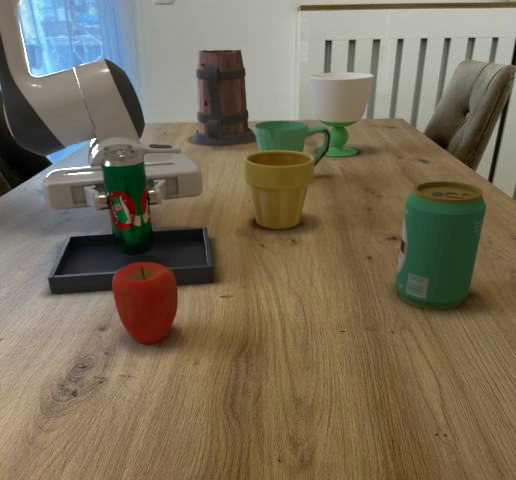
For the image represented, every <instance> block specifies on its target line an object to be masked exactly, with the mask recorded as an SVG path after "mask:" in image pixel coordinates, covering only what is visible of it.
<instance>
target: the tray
mask: <svg viewBox="0 0 516 480" xmlns="http://www.w3.org/2000/svg"><path fill="white" fill-rule="evenodd" d="M153 233H154V241H155V244H154V246H153V247H152V249H151V250H150V251H148V252H146V253H143V254H138V255H126V254H122V253H120V252H119V251H118V250H116V248H115V246H114V240H113V234H112V232H106V233H105V232H104V233H88V234H73V235H67V236H66V237H65V240H64V242H63V244H62V246H61V249H60V251H59V253H58V256H57V257H56V259H55V262H54V263H53V266H52V268H51V270H50V273H49V275H48V276H47V280H48V285H49V289H50V294H51V295H52V294H53V295H54V294H55V295H56V294H69V293H71V294H72V293H83V292H97V291H98V292H99V291H111V290H112V291H113V287H112V281H113V276H114V274H115V273H116V272H117V271H119V270H121V269H122V268H124V267H125V266H127V265H130V264H133V263H139V262H152V263H156V264H160V265H162V266H165V267H167V268H170V269H171V271H172V272H173V274H174V276H175V280H176V285H177V286H180V285H192V284H193V285H194V284H208V283H215V273H214V264H213V263H214V262H213V256H212V252H211V251H212V250H211V243H210V238H209V231H208V227H207V226H203V227H202V226H201V227H184V228H169V229H153Z"/></svg>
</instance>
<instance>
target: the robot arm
mask: <svg viewBox="0 0 516 480" xmlns="http://www.w3.org/2000/svg"><path fill="white" fill-rule="evenodd" d="M22 1H23V0H0V92H1V96H2V97H1V98H2V107H3V114H4V118H5V123H6V125H7V128H8V130H9V132H10V134H11V136H12V137H13V139H14V141H15V142H16V144H17V145H18V146H19V147H21V148H22V149H24V150H26V151H29V152H31V153H32V154H36V155H38V156H41V157H47V156H50V155H53V154H55V153H57V152H60V151H63V150H65V149H67V148H69V147H71V146H74V145H78V144H82V143H85V142H89V141H90V143H89V146H88V150H87V151H88V152H87V162H88V166H80V167H79V166H78V167H69V168H61V169H60V168H59V169H54V170H52V171H50V172H48V173H47V174H46V175H45V176H44V179H43V181H42V182H41V186H42V187H41V188H42V193H43V197H44V202H45V205H46V208H47V209H49V210H52V211H64V210H73V209H74V210H75V209H83V208H95V210H96V211H105V210H108V209H109V207H108V203H107V195H106V192H105V186H104V180H103V174H102V168H101V162H102V160H103V153H104V152H107V151H110V150H115V149H136V150H139V151H140V155H141V157H142V158H143V159H144V162H145V170H146V178H147V186H148V195H149V203H150V206H156V205H157V206H158V205H162V201H166V200H177V199H185V198H196V197H199V196H201V195H202V194H203V189H204V188H203V175H202V169H201V167H200V166H199V164H198V163H197V162H196V161H195V160H194V159H193V158H192V157H190V156H189V155H187V154H184V153H182V149H181V147H180V146H179V145H175V144H173V145H172V144H158V143H157V144H156V143H146V142H142V141H141V139H142V137H143V134H144V132H145V127H146V122H145V116H144V113H143V108H142V105H141V102H140V99H139V97H138V95H137V92H136V89H135V88H134V85H133V83H132V81H131V79H130V77H129V76H128V74H127V72H126V71H125V70H124V69H122V67H120V66H119V65H118V64H116V62H115V63H114V62H113V61H111V60H109V59H107V58H103V59H97V60H94V61H90V62H86V63H82V64H79V65H75V66H73V67H71V68H67V69H63V70H60V71H55V72H52V73H48V74H45V75H40V76H35V75H34V74H32V73H31V70H30V66H29V61H28V56H27V52H26V47H25V43H24V37H23V32H22V27H21V22H20V12H19V11H20V6H21V3H22Z"/></svg>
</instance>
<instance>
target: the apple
mask: <svg viewBox="0 0 516 480" xmlns="http://www.w3.org/2000/svg"><path fill="white" fill-rule="evenodd" d="M112 287H113V289H112V294H113V298H114V303H115V308H116V312H117V315H118V317H119V319H120V322H121V324H122V325H123V327H124V329H125V330H126V332H127V334H128V335H129V336H130V337H131V338H132V339H133V340H134V341H135V342H138V343H141V344H146V345H147V344H154V343H157V342H159V341H161V340H163V339H164V338H165V337H166V336H168V334H169V332H170V331H171V328H172V325H173V323H174V321H175V318H176V315H177V311H178V303H179V301H178V299H179V297H178V296H179V295H178V285H176V280H175V276H174V274H173V272H172V271H171V269H170V268H167V267H165V266H162V265H160V264H156V263H152V262H139V263H133V264H130V265H127V266H125V267H124V268H122V269H121V270H119V271H117V272H116V273H115V274H114V276H113V281H112Z"/></svg>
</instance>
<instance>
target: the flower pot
mask: <svg viewBox="0 0 516 480" xmlns="http://www.w3.org/2000/svg"><path fill="white" fill-rule="evenodd" d="M314 157H315V156H313V155H311V154H309V153H306V152H304V151H303V152H298V151H288V150H268V151H260V152H259V151H255V152H251V153H248V154H247V155H244V158H243V176H244V181H245V183H246V184H248V186H249V192H250V196H251V201H252V206H253V211H254V216H255V221H256V223H257V225H258V226H261V227H263V228H266V229H271V230H283V229H291V228H294V227H296V226H298V225H299V224H300V221H301V216H302V213H303V209H304V204H305V200H306V197H307V193H308V188H309V186H310V185H311V184H312V183H313V181H314V175H315V174H314V173H315V167H314Z"/></svg>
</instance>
